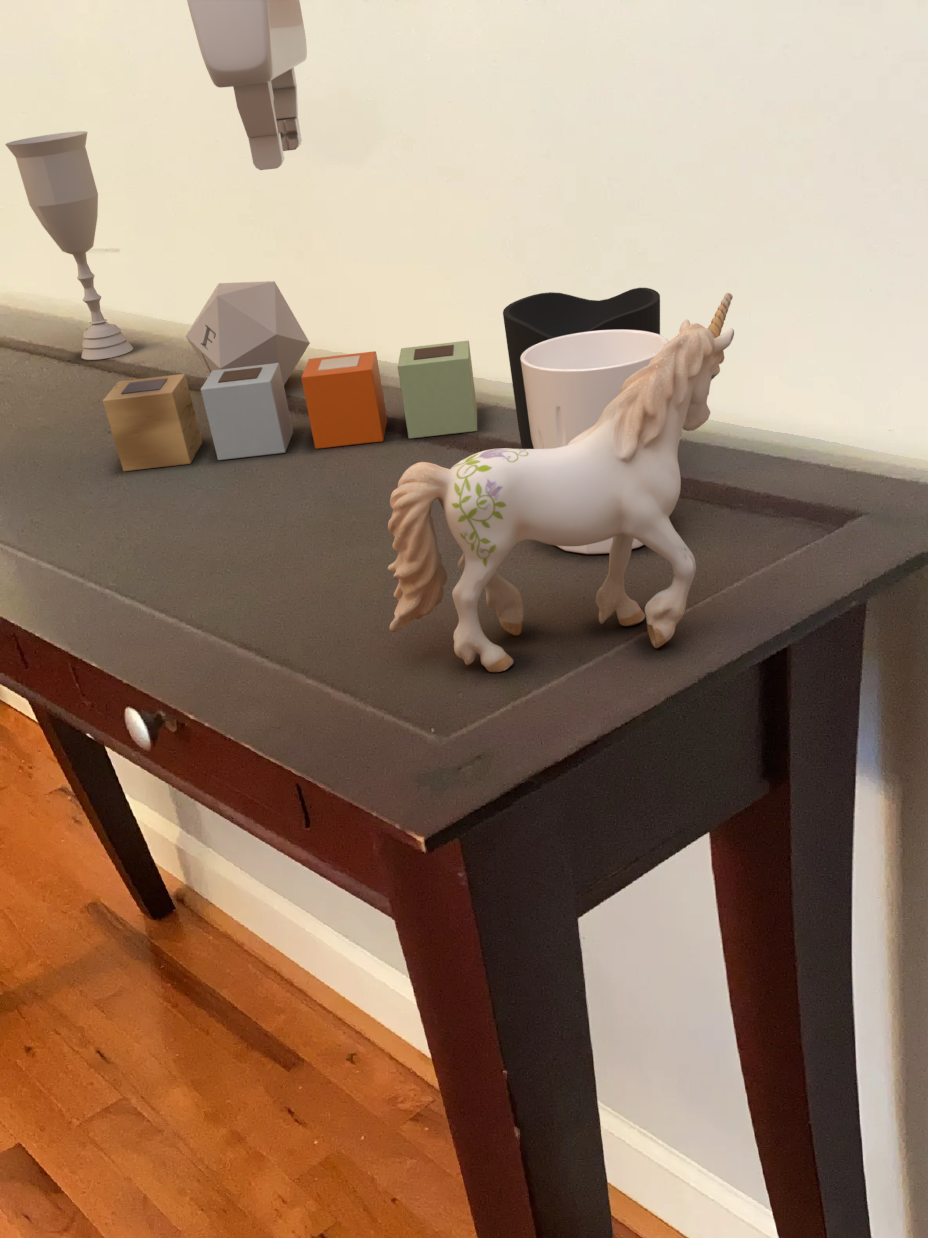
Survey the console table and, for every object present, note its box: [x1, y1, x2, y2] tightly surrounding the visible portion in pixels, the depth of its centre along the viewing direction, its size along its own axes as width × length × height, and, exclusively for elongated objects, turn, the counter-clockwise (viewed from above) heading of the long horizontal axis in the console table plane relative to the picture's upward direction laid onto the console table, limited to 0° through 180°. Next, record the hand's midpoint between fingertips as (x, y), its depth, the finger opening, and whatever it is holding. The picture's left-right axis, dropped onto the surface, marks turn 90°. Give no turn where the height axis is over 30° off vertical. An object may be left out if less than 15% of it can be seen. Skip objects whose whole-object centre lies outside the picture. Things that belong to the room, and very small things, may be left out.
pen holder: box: [502, 287, 661, 449], centre depth 79 cm, size 9×9×10 cm
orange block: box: [301, 351, 388, 450], centre depth 92 cm, size 5×5×5 cm
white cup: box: [520, 330, 670, 555], centre depth 70 cm, size 8×8×10 cm
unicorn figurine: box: [387, 292, 735, 673], centre depth 59 cm, size 7×20×13 cm, turn 114°
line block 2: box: [200, 363, 294, 461], centre depth 92 cm, size 5×5×5 cm
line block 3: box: [397, 340, 478, 440], centre depth 92 cm, size 5×5×5 cm
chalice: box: [4, 130, 134, 361], centre depth 119 cm, size 7×7×18 cm
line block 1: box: [102, 373, 203, 472], centre depth 93 cm, size 5×5×5 cm
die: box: [185, 280, 311, 386], centre depth 104 cm, size 8×9×10 cm
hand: (279, 158), depth 83 cm, fingers open, 8 cm apart
